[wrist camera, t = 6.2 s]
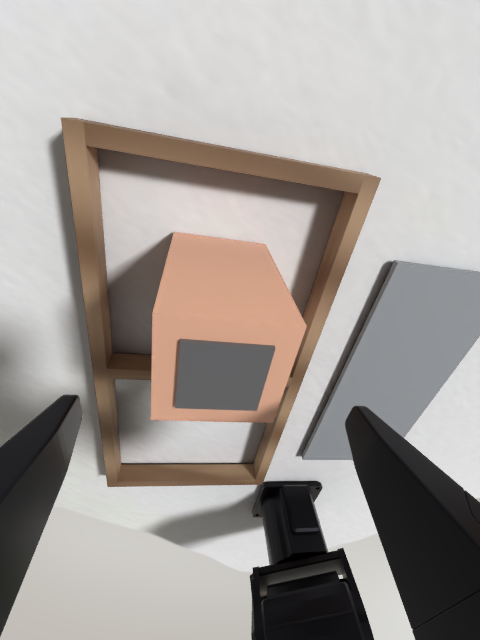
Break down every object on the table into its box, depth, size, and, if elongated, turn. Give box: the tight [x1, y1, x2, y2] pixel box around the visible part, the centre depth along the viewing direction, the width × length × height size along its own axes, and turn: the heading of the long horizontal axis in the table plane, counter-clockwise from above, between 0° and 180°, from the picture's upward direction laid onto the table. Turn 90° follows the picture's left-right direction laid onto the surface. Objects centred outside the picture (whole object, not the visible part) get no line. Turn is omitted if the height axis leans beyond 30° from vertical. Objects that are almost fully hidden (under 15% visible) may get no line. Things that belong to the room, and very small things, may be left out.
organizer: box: [61, 118, 381, 487], centre depth 20 cm, size 26×14×2 cm, turn 170°
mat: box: [302, 260, 480, 460], centre depth 24 cm, size 20×9×1 cm, turn 170°
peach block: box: [151, 232, 307, 423], centre depth 14 cm, size 5×5×8 cm
